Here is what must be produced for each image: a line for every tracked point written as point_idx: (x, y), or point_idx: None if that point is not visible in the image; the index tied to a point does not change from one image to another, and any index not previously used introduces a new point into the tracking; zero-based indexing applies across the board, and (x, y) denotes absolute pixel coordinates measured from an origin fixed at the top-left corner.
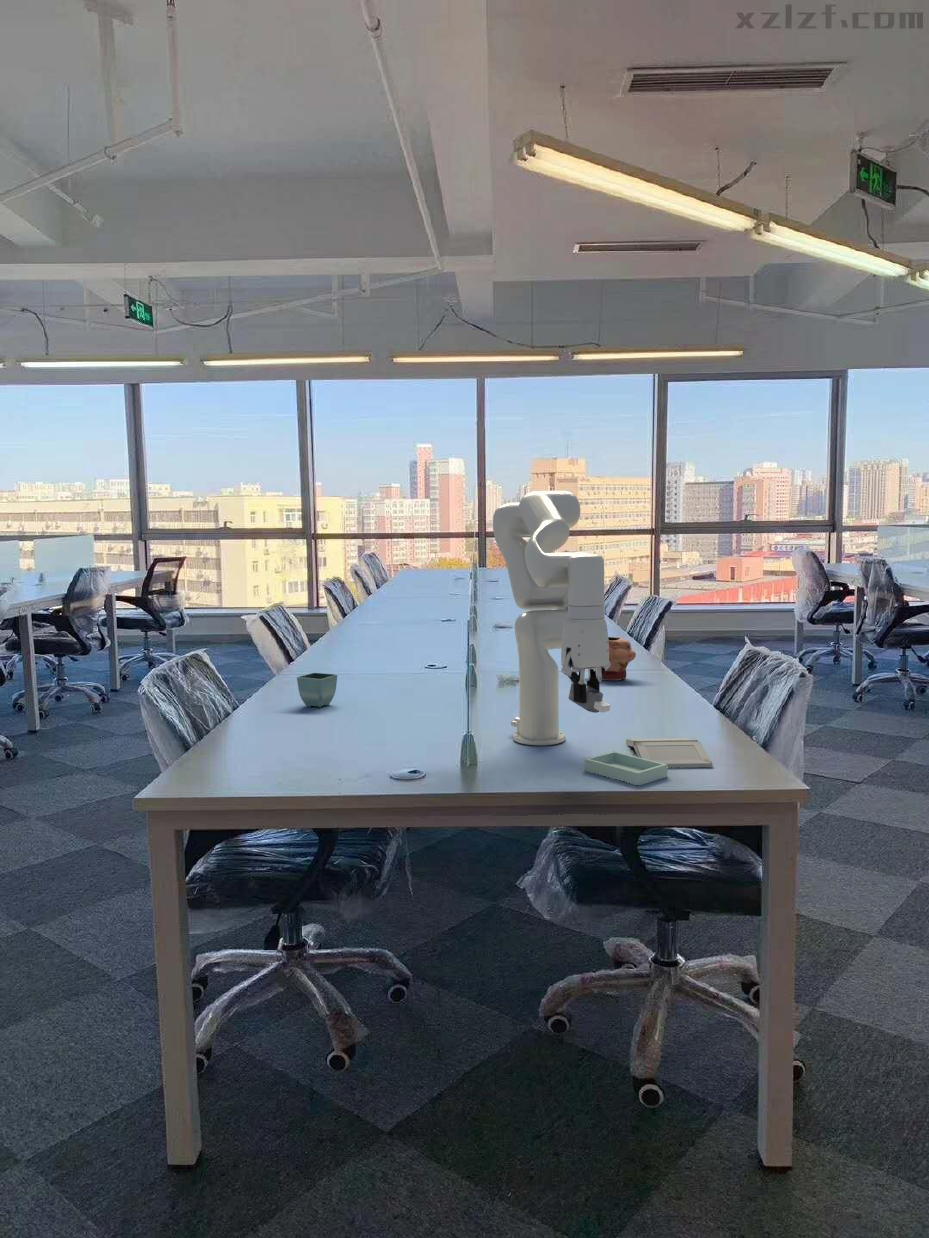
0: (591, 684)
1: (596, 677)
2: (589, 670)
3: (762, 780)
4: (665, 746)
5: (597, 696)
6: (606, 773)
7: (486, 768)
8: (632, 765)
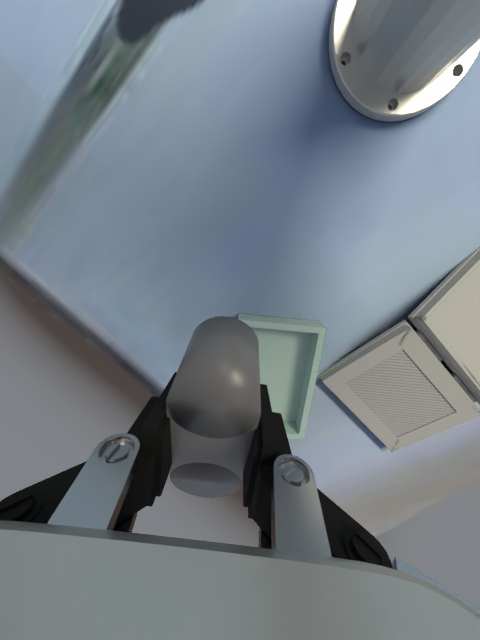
0: (249, 463)
1: (260, 536)
2: (271, 542)
3: (362, 511)
4: (423, 377)
5: (189, 493)
6: None
7: (109, 144)
8: (305, 368)
